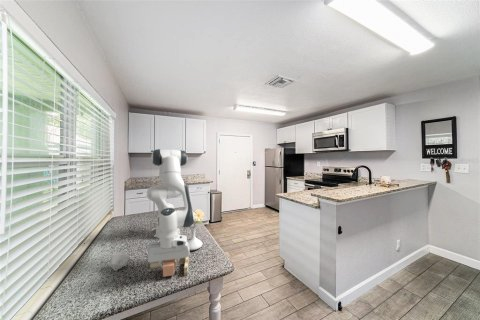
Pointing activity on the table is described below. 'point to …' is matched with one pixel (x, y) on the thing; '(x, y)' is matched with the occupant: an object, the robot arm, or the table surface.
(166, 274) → the block
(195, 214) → the flower in vase
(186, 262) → the wooden corner bracket
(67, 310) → the table surface
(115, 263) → the die
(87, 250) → the table surface
